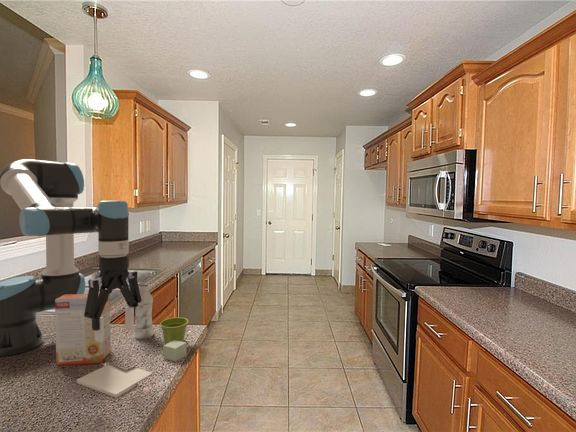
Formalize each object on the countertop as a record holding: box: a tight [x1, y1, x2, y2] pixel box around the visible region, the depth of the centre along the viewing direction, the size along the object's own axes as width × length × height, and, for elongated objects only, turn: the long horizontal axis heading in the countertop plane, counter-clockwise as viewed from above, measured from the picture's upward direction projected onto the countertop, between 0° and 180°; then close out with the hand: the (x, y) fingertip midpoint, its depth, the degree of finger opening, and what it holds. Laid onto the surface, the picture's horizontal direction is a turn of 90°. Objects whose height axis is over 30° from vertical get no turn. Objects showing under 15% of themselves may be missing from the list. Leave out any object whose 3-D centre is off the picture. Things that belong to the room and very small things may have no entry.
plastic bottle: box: [133, 284, 155, 340], centre depth 122 cm, size 6×7×20 cm
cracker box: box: [54, 293, 112, 366], centre depth 106 cm, size 14×6×21 cm, turn 96°
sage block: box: [162, 340, 187, 362], centre depth 108 cm, size 5×5×5 cm
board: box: [76, 363, 153, 398], centre depth 95 cm, size 16×12×1 cm
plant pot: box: [159, 316, 189, 345], centre depth 117 cm, size 9×9×9 cm
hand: (115, 334), depth 95 cm, fingers open, 9 cm apart
